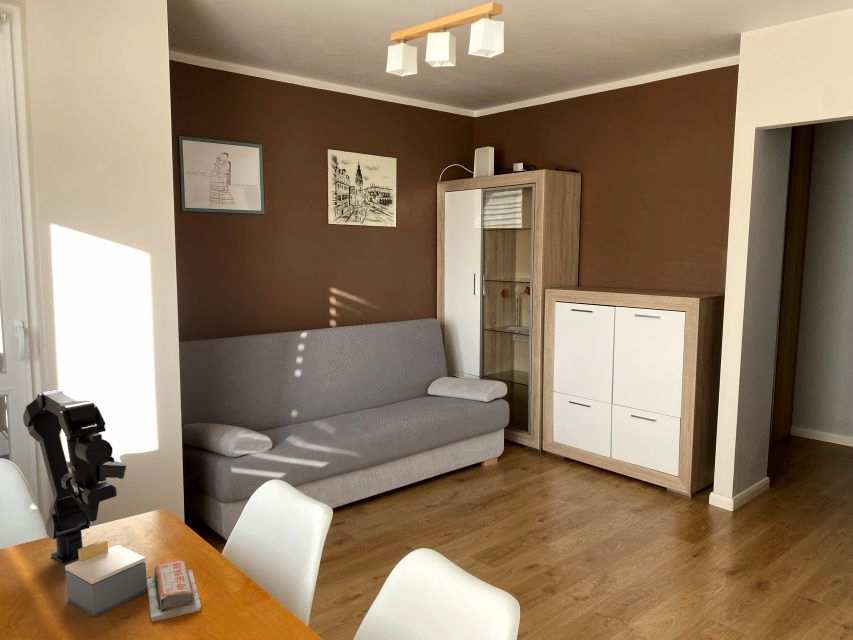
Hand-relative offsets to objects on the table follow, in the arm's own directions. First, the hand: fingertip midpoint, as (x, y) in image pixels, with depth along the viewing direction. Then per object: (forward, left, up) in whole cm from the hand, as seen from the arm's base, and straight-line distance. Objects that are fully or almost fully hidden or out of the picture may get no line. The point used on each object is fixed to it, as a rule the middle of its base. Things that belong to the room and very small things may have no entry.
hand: (93, 520), depth 154 cm
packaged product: (+24, +4, -14) cm, 28 cm away
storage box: (+12, -4, -13) cm, 18 cm away
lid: (+12, -4, -6) cm, 14 cm away
